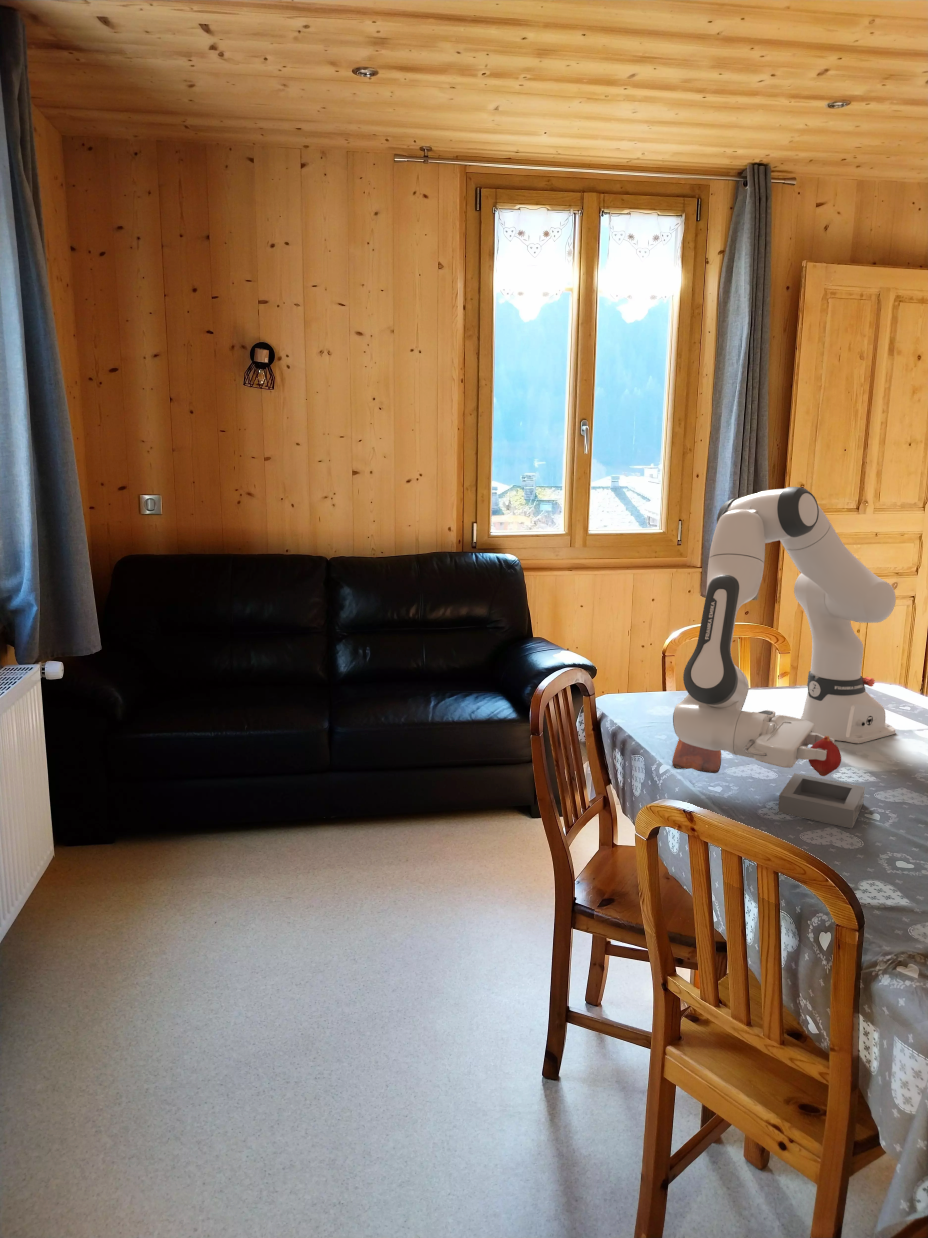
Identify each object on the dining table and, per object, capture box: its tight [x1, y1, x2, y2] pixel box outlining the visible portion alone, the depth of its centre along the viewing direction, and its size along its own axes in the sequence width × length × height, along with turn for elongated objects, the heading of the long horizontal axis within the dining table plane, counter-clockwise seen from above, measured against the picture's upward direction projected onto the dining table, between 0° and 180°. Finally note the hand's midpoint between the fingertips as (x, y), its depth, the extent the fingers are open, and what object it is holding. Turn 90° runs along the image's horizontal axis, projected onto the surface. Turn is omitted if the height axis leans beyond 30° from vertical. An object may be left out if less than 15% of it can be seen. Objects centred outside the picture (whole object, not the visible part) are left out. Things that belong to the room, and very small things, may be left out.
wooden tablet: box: [671, 738, 722, 774], centre depth 199 cm, size 27×10×2 cm, turn 162°
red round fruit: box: [808, 736, 842, 777], centre depth 166 cm, size 6×6×8 cm
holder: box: [777, 772, 866, 829], centre depth 168 cm, size 13×13×4 cm
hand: (830, 749), depth 165 cm, fingers closed on red round fruit, 6 cm apart
